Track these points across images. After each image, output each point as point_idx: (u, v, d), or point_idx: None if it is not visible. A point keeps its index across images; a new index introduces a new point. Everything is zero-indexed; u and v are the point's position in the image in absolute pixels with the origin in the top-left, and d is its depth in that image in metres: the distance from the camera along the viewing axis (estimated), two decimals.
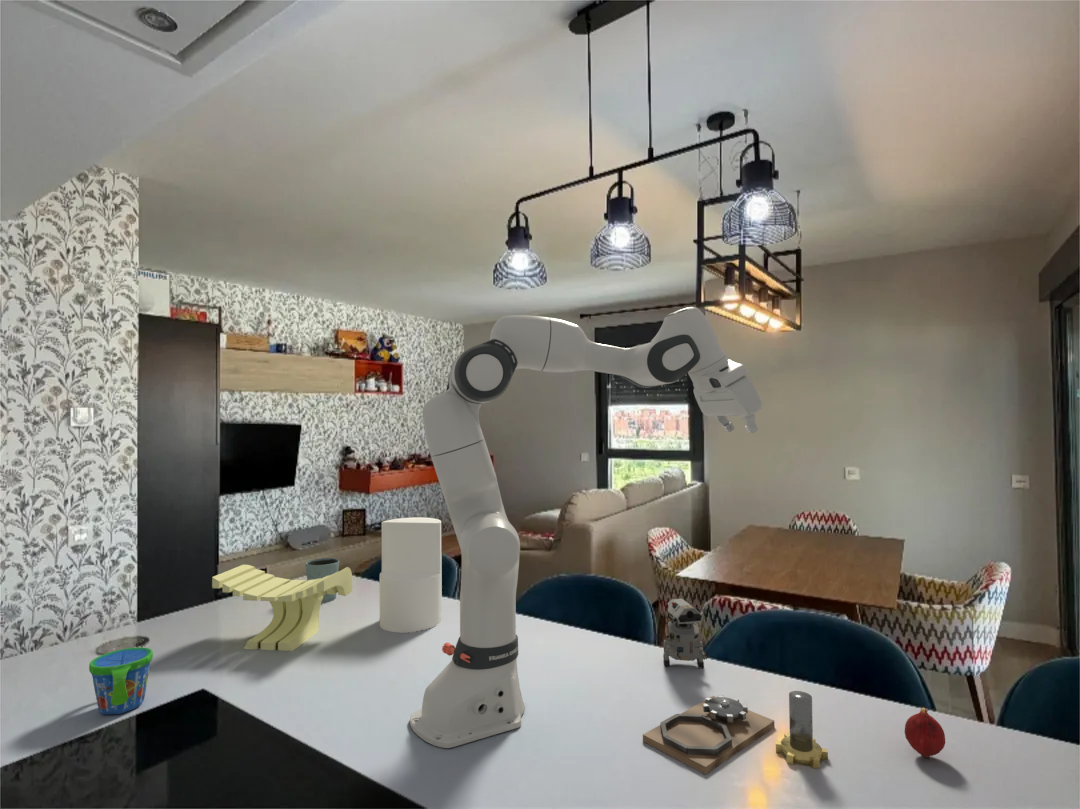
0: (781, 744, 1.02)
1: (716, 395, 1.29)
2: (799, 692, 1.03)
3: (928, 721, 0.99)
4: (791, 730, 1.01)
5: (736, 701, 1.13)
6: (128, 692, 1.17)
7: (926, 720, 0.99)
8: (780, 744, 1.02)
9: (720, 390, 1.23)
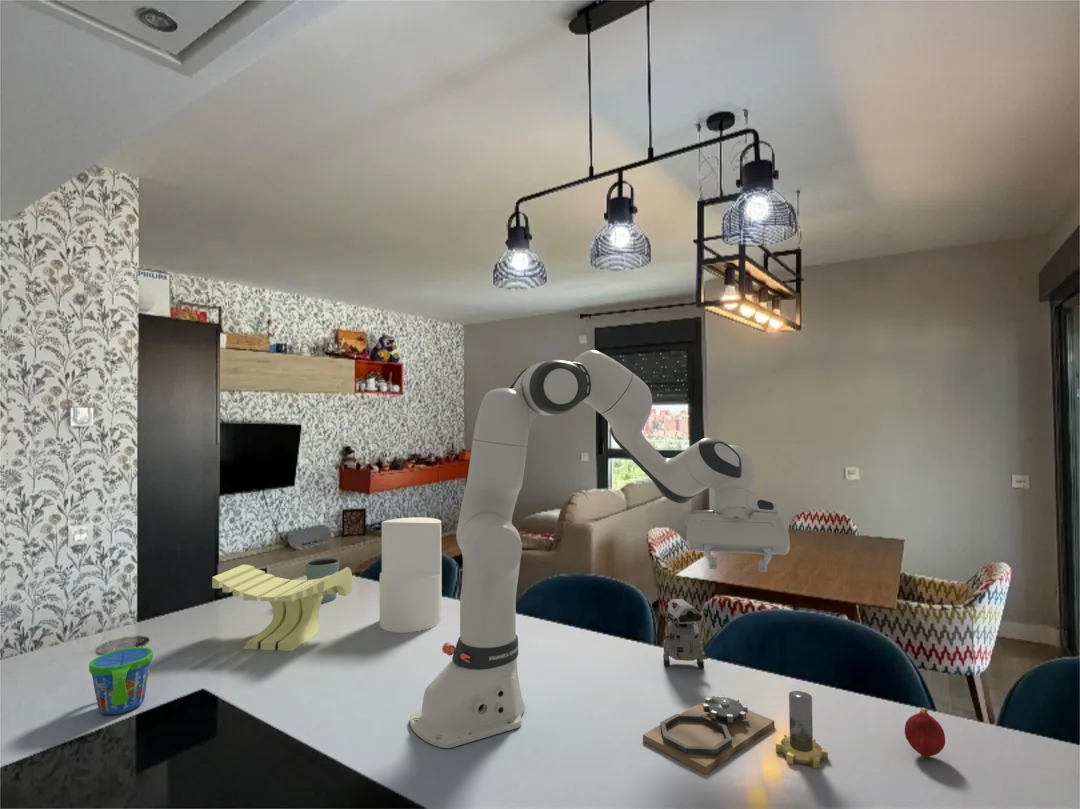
0: (781, 744, 1.02)
1: (737, 523, 1.24)
2: (799, 692, 1.03)
3: (928, 721, 0.99)
4: (791, 730, 1.01)
5: (736, 701, 1.13)
6: (128, 692, 1.17)
7: (926, 720, 0.99)
8: (780, 744, 1.02)
9: (764, 514, 1.22)
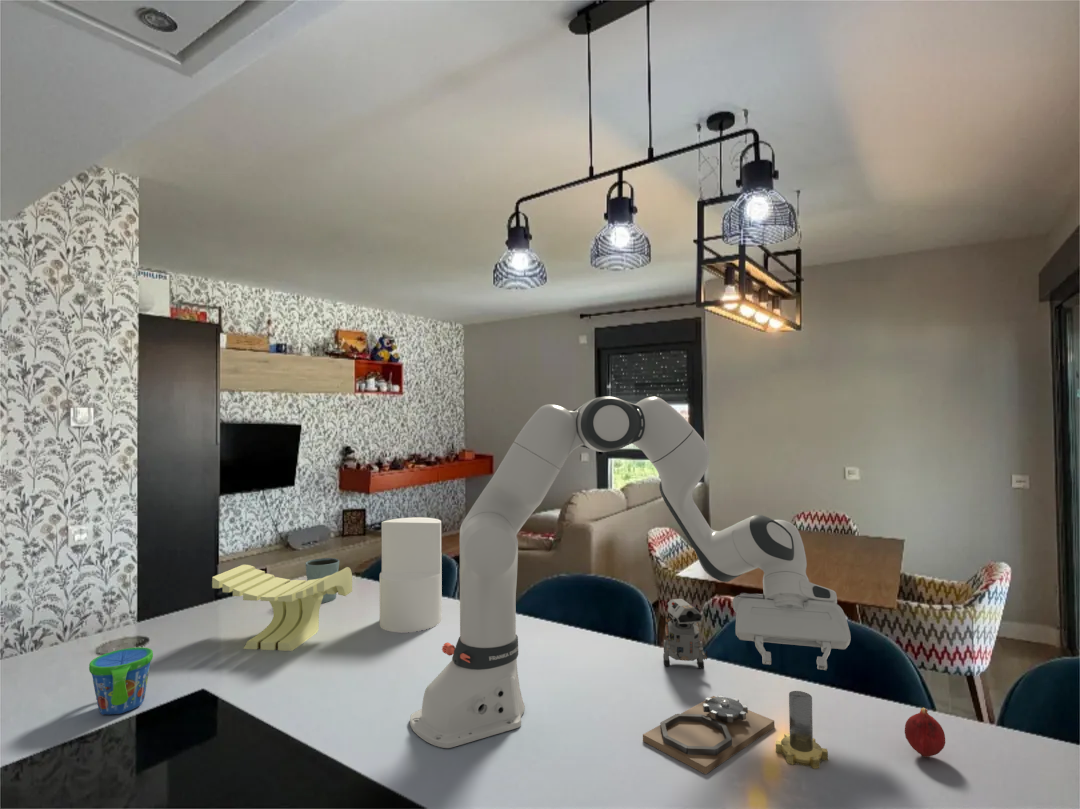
0: (781, 744, 1.02)
1: (791, 611, 1.15)
2: (799, 692, 1.03)
3: (928, 721, 0.99)
4: (791, 730, 1.01)
5: (736, 701, 1.13)
6: (128, 692, 1.17)
7: (926, 720, 0.99)
8: (780, 744, 1.02)
9: (820, 602, 1.14)
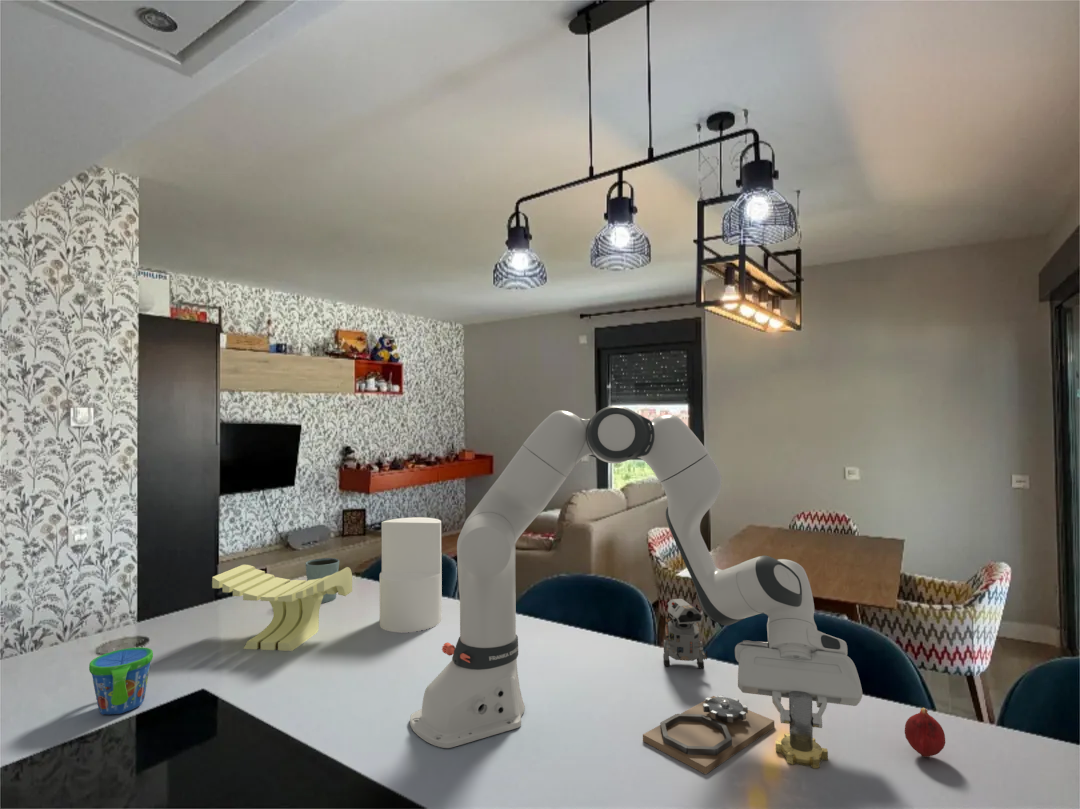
0: (781, 744, 1.02)
1: (798, 663, 1.07)
2: (799, 692, 1.03)
3: (928, 721, 0.99)
4: (791, 730, 1.01)
5: (736, 701, 1.13)
6: (128, 692, 1.17)
7: (926, 720, 0.99)
8: (780, 743, 1.02)
9: (829, 654, 1.05)
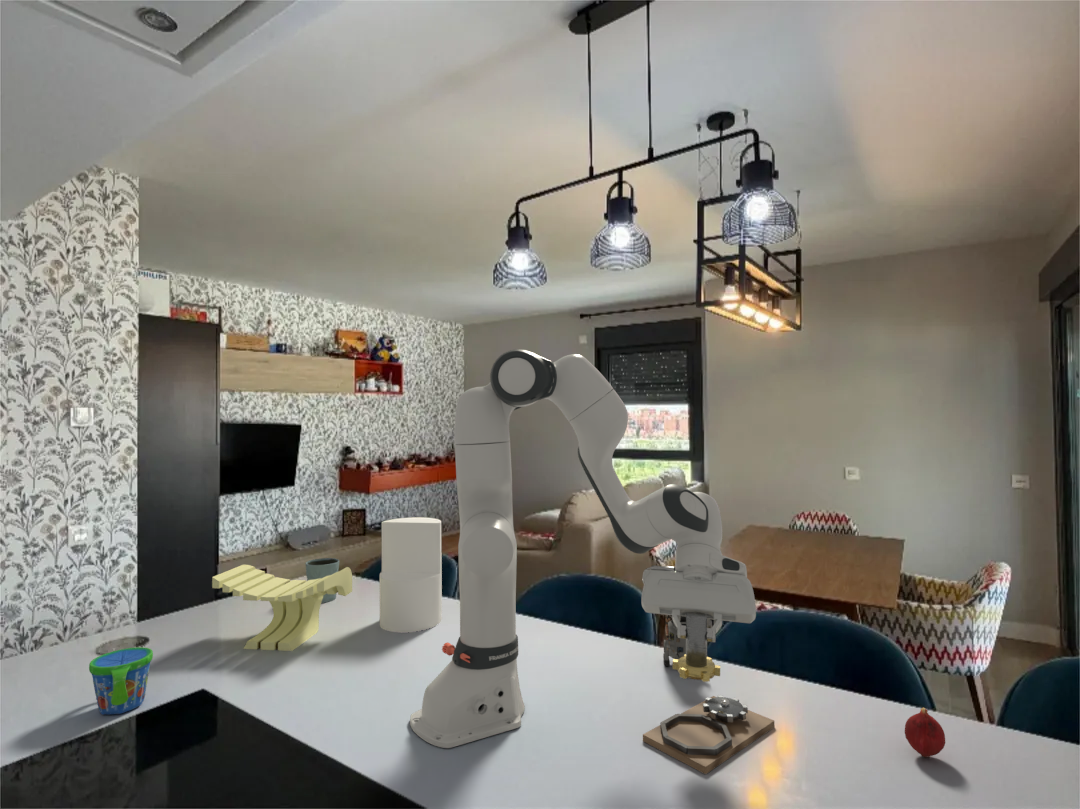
0: (677, 661, 1.06)
1: (699, 584, 1.10)
2: (696, 612, 1.07)
3: (928, 721, 0.99)
4: (686, 647, 1.05)
5: (736, 701, 1.13)
6: (128, 692, 1.17)
7: (926, 720, 0.99)
8: (676, 661, 1.06)
9: (728, 575, 1.09)
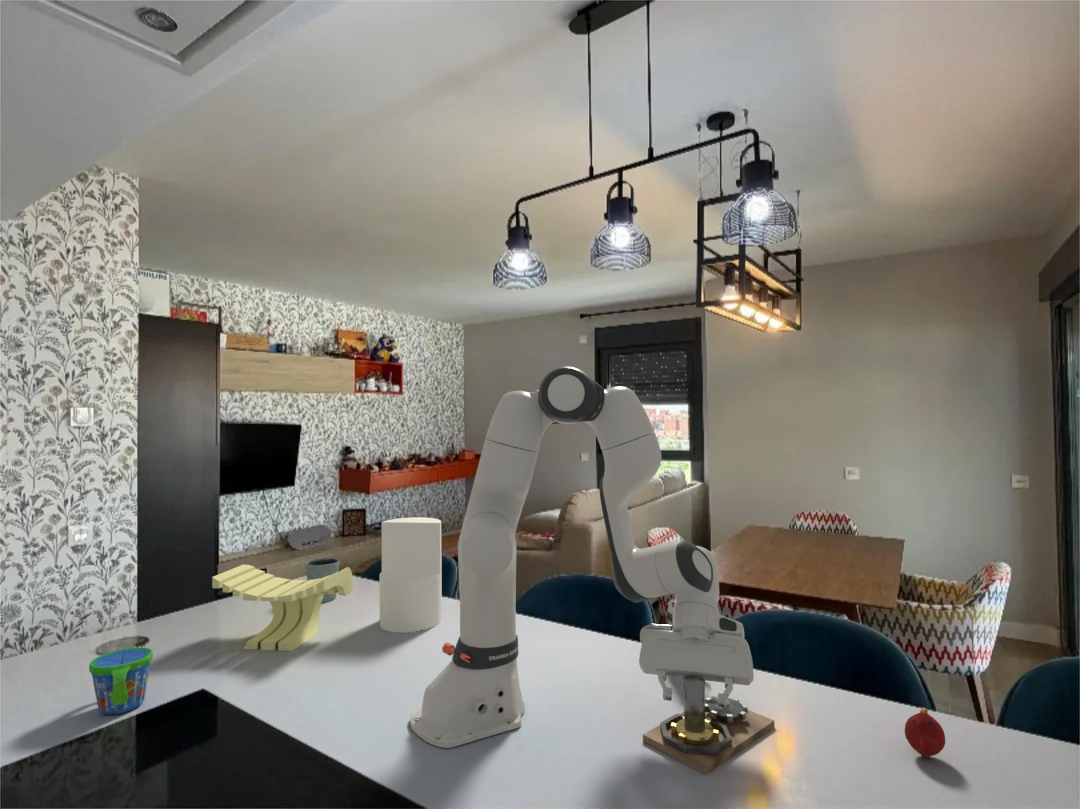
0: (676, 726, 1.06)
1: (697, 645, 1.10)
2: (693, 676, 1.07)
3: (928, 721, 0.99)
4: (684, 712, 1.05)
5: (736, 701, 1.13)
6: (128, 692, 1.17)
7: (926, 720, 0.99)
8: (674, 725, 1.06)
9: (726, 636, 1.09)
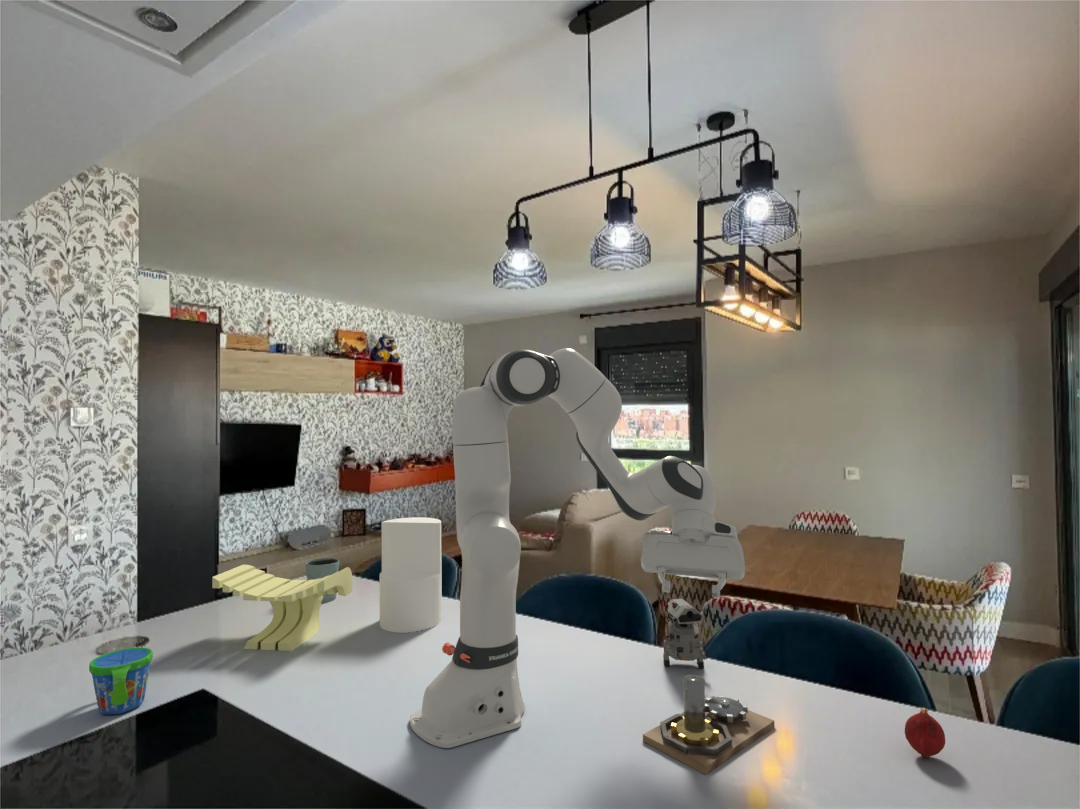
0: (676, 726, 1.06)
1: (694, 546, 1.21)
2: (693, 676, 1.07)
3: (928, 721, 0.99)
4: (684, 712, 1.05)
5: (736, 701, 1.13)
6: (128, 692, 1.17)
7: (926, 720, 0.99)
8: (674, 725, 1.06)
9: (720, 537, 1.20)
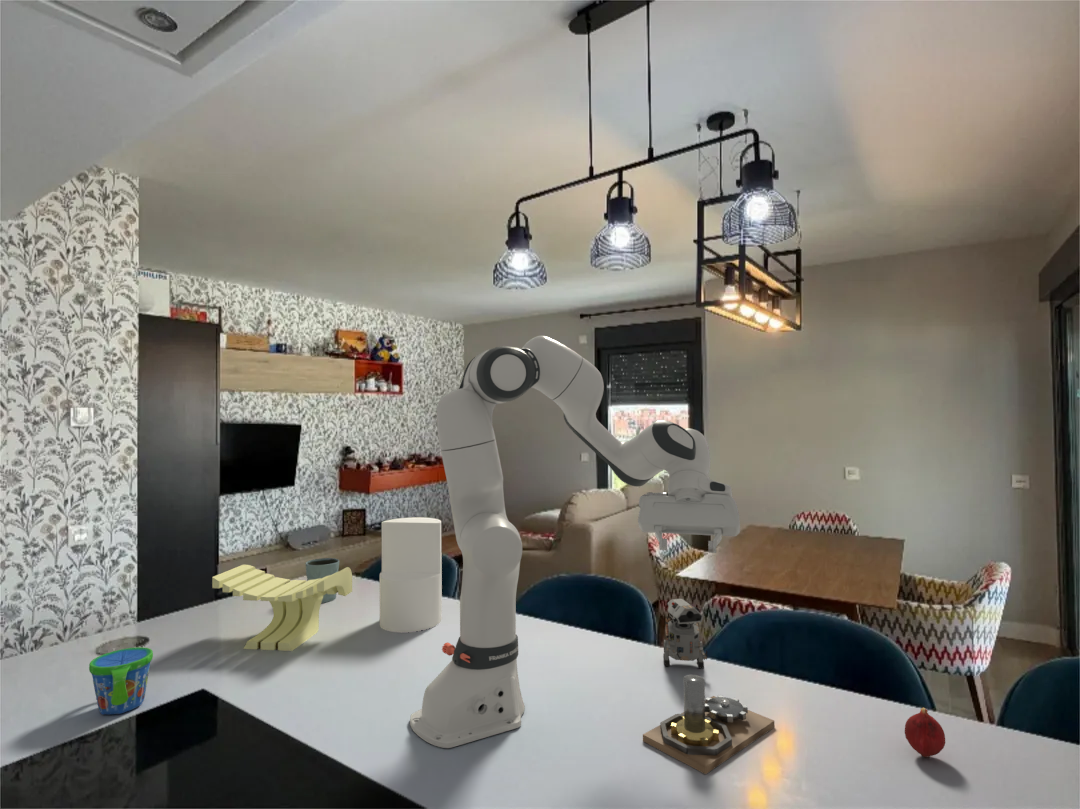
0: (676, 726, 1.06)
1: (689, 505, 1.23)
2: (693, 676, 1.07)
3: (928, 721, 0.99)
4: (684, 712, 1.05)
5: (736, 701, 1.13)
6: (128, 692, 1.17)
7: (926, 720, 0.99)
8: (674, 725, 1.06)
9: (715, 495, 1.22)
